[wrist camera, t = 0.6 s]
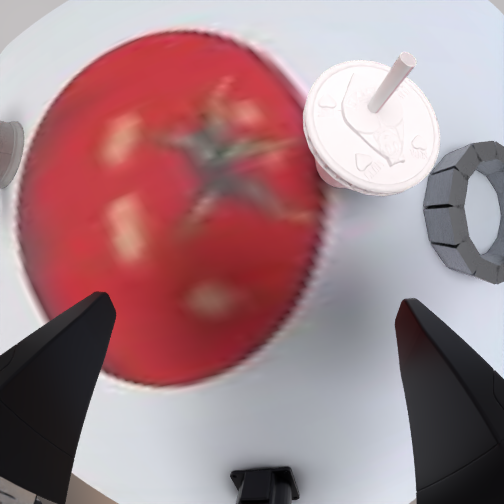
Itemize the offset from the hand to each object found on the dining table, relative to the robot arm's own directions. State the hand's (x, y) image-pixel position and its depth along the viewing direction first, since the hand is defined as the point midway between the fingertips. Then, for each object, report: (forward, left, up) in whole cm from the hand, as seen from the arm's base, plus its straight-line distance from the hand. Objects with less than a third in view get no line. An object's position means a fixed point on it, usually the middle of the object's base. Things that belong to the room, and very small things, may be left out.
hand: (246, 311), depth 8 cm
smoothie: (+5, -7, -14) cm, 16 cm away
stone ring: (-1, -18, -13) cm, 22 cm away
